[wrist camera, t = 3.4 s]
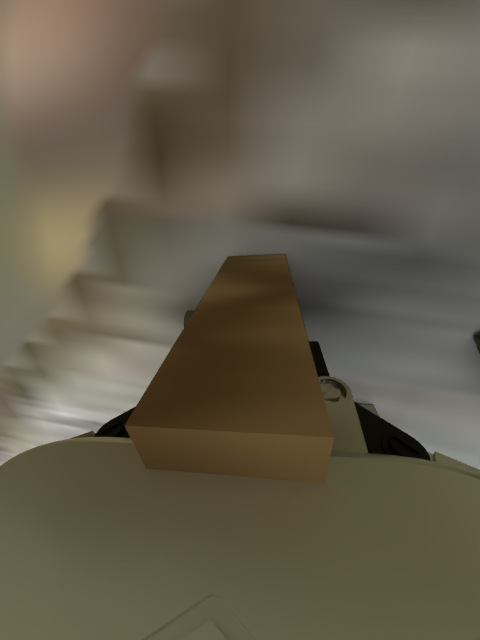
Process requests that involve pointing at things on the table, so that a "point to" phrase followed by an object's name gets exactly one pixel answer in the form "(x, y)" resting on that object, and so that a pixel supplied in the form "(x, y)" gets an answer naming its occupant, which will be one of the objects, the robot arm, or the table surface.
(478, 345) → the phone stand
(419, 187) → the table surface
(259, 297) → the tan rectangular block
